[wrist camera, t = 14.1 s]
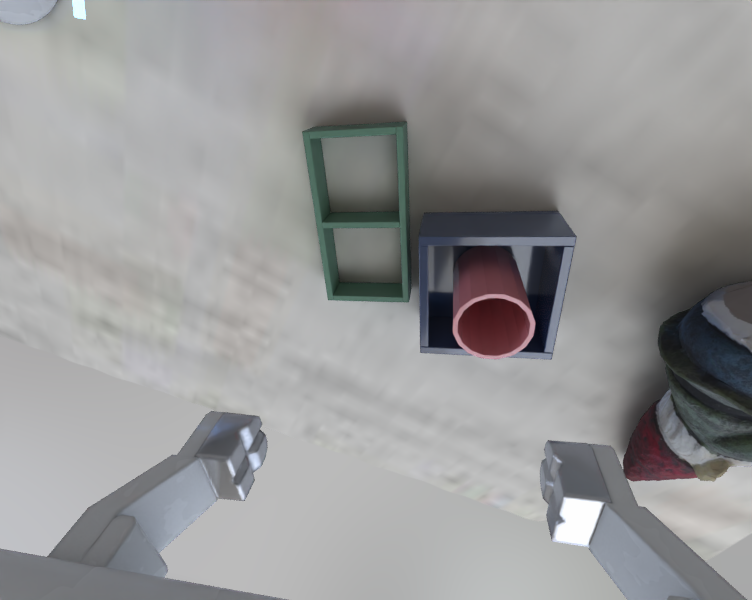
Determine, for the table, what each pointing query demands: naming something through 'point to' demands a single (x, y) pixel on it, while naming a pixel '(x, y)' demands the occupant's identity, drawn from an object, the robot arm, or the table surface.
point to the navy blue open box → (531, 252)
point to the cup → (490, 304)
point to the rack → (359, 213)
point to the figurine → (700, 394)
